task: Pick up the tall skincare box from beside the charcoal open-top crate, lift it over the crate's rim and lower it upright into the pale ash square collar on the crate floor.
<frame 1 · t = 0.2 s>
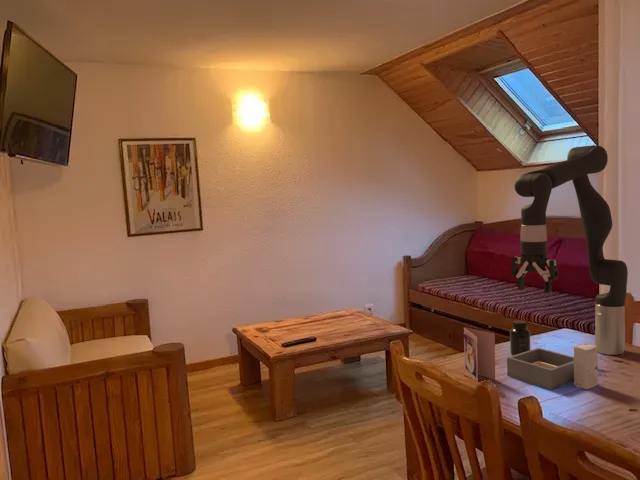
hand: (534, 291, 166), 28 cm above the table, tool pointing down, fingers open, 8 cm apart
crate: (544, 376, 172), on the table
skincare box: (585, 386, 164), on the table
greeting card: (479, 377, 175), on the table
supplement bottle: (520, 354, 195), on the table
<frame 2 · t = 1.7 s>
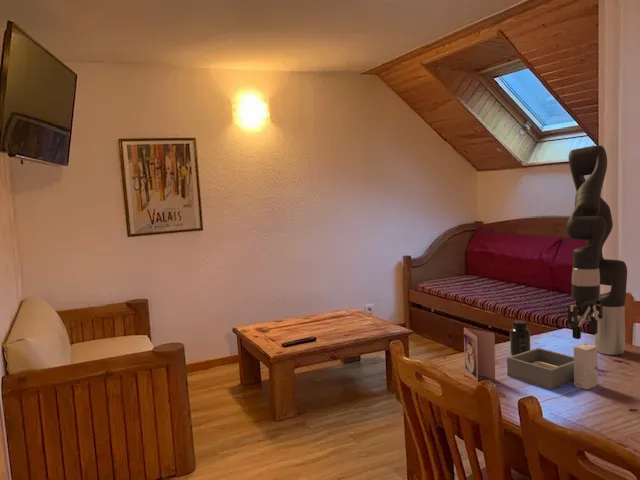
hand: (585, 336, 162), 15 cm above the table, tool pointing down, fingers open, 8 cm apart
nothing on the table moved.
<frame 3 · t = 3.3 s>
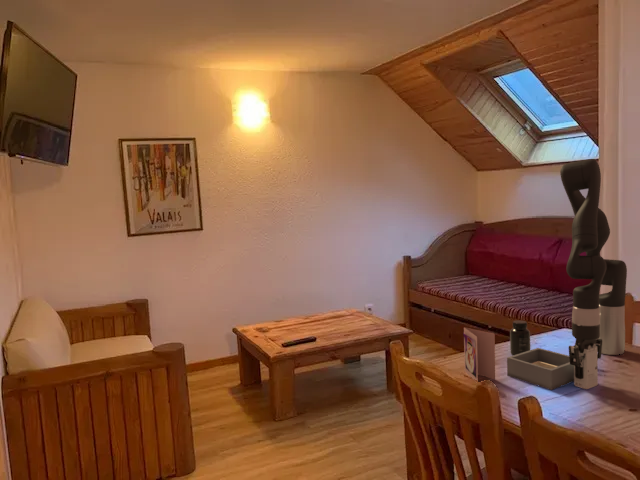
hand: (585, 375, 163), 3 cm above the table, tool pointing down, fingers closed on skincare box, 6 cm apart
skincare box: (585, 385, 164), on the table, touching gripper
everything else where it was.
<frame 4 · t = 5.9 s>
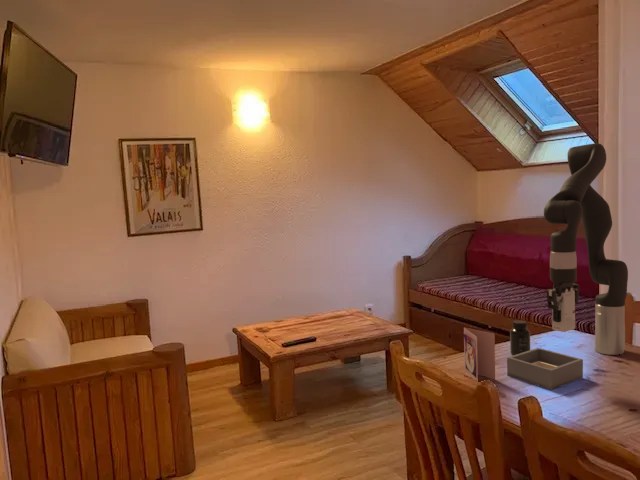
hand: (563, 319, 166), 19 cm above the table, tool pointing down, fingers closed on skincare box, 6 cm apart
skincare box: (563, 329, 167), point 16 cm above the table, touching gripper
everything else where it was.
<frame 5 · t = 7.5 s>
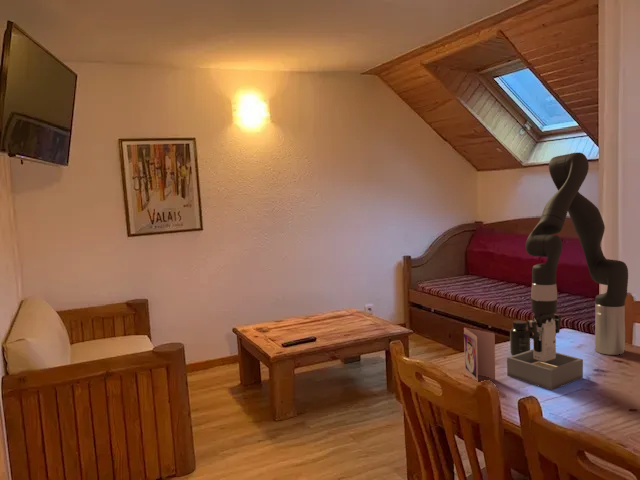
hand: (544, 349, 171), 9 cm above the table, tool pointing down, fingers closed on skincare box, 6 cm apart
skincare box: (544, 359, 172), point 6 cm above the table, touching gripper
everything else where it was.
when the fingers open (5 cm above the table, at t = 8.8 s): skincare box stays where it is, resting on crate.
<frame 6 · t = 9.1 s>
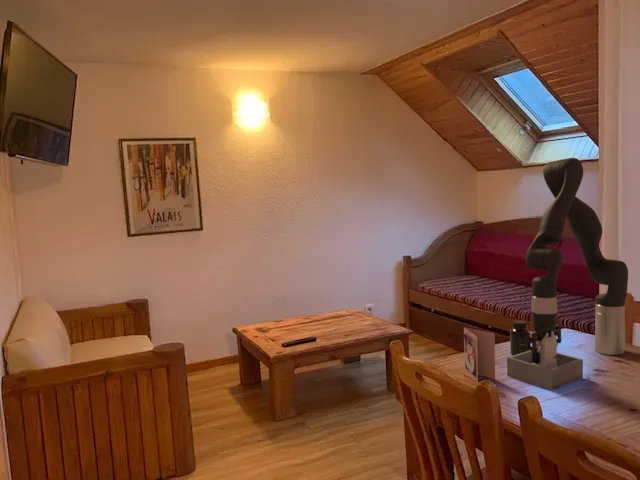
hand: (544, 360, 172), 5 cm above the table, tool pointing down, fingers open, 8 cm apart
skincare box: (545, 374, 172), point 1 cm above the table, touching crate
everything else where it was.
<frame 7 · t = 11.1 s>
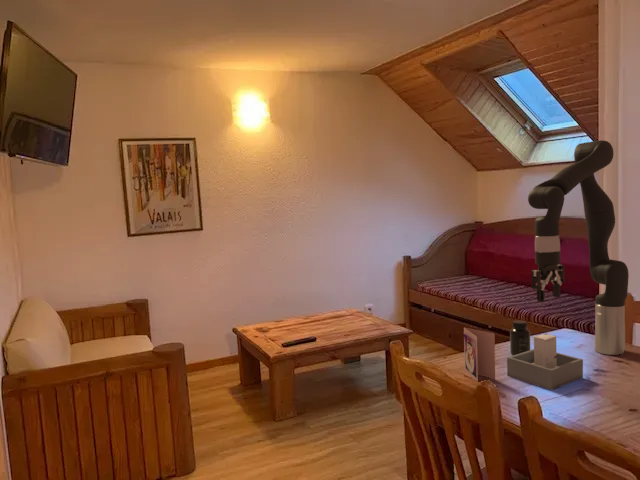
hand: (548, 299, 174), 24 cm above the table, tool pointing down, fingers open, 8 cm apart
nothing on the table moved.
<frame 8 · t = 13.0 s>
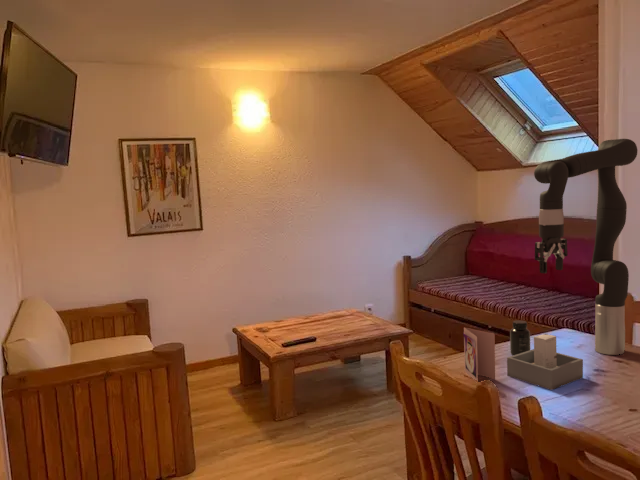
hand: (551, 271, 179), 32 cm above the table, tool pointing down, fingers open, 8 cm apart
nothing on the table moved.
at the end: skincare box 0.4 cm off-centre on the crate, point 0.8 cm above the crate's base; skincare box tilted 0°; the gripper is holding nothing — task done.
